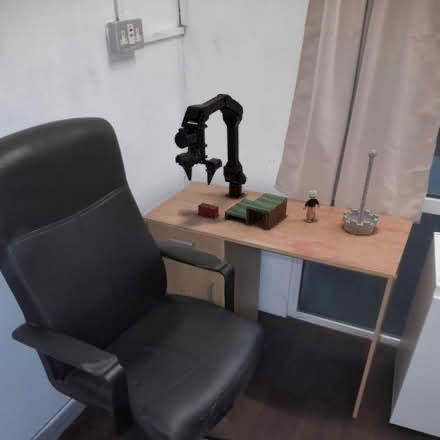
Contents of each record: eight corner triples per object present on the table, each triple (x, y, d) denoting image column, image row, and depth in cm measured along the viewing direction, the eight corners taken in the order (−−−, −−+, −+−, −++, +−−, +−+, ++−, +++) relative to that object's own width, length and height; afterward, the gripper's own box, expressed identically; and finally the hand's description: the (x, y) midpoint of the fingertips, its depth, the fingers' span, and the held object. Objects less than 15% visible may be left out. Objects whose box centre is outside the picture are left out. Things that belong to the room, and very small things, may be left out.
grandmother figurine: (312, 216, 172) (316, 186, 165) (319, 219, 169) (323, 189, 162) (299, 221, 168) (302, 190, 161) (306, 224, 166) (309, 193, 159)
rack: (244, 206, 182) (244, 188, 177) (286, 216, 173) (287, 197, 168) (224, 219, 171) (224, 200, 166) (268, 230, 162) (269, 211, 157)
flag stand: (375, 237, 156) (393, 156, 139) (340, 233, 159) (353, 153, 142) (375, 223, 166) (392, 146, 149) (342, 219, 169) (354, 143, 152)
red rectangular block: (203, 211, 178) (202, 202, 175) (218, 215, 174) (218, 206, 172) (198, 214, 175) (197, 205, 173) (214, 218, 171) (213, 209, 169)
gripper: (164, 143, 155) (168, 184, 164) (205, 151, 147) (206, 193, 155) (182, 137, 163) (185, 176, 172) (222, 143, 154) (223, 184, 163)
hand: (199, 182), depth 165 cm, fingers open, 9 cm apart
